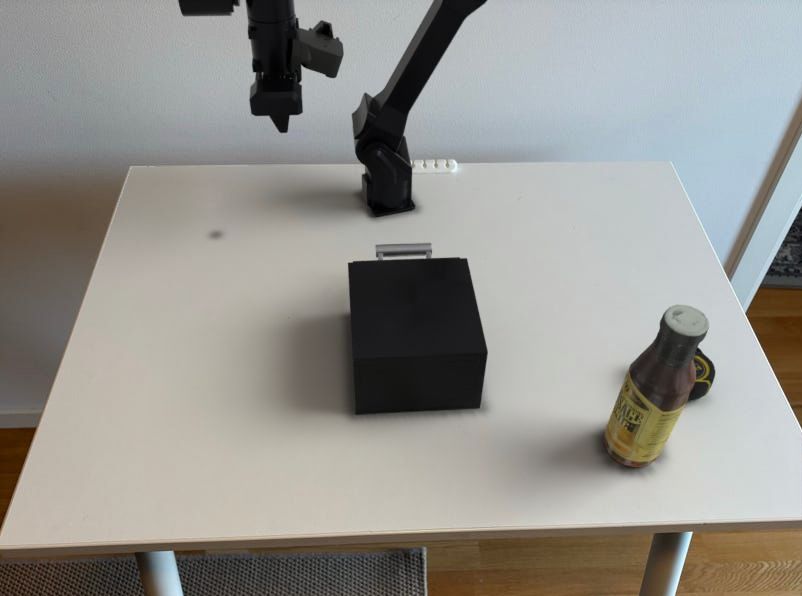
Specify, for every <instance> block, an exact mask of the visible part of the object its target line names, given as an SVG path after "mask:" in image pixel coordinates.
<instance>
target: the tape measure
mask: <svg viewBox="0 0 802 596" xmlns="http://www.w3.org/2000/svg"><path fill="white" fill-rule="evenodd" d="M693 359H694V364H695V368H696V380H695V383H694V386H693V388H692V390H691V391H690V394H689V396H688V400H687V402H692V401H696V400H699V399H701V398H703V397H705V396H706V395H707V394H708V393H709V391H710V389H711V387H712V386H713V383H714V380H715V377H716V367H715V365H714V363H713V361H712V359H710V358H709V357H708V356H707V355H706V354H704V352H703V351H702V349H701V348H700V347H699V346H698V347H697V349H696V351H695V356H694V358H693Z"/></svg>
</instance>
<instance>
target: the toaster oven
mask: <svg viewBox="0 0 802 596" xmlns="http://www.w3.org/2000/svg"><path fill="white" fill-rule="evenodd" d="M347 274H348V294H349V295H348V298H349V314H350V337H351V356H352V376H353V379H352V381H353V397H354V398H353V399H354V415H356V416H358V415H377V414H394V413H395V414H396V413H411V412H412V413H413V412H432V411H450V410H466V409H467V410H468V409H469V410H470V409H480V408H481V405H482V404H481V403H482V397H483V389H484V383H485V376H486V369H487V363H488V355H489V351H488V350H489V349H488V346H487V342H486V337H485V332H484V327H483V324H482V319H481V315H480V309H479V305H478V302H477V297H476V293H475V287H474V283H473V278H472V275H471V269H470V266H469V261H468V258H467V257H460V258H456V259H430V260H403V261H376V262H353V261H351V262H347Z"/></svg>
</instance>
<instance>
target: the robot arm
mask: <svg viewBox="0 0 802 596" xmlns="http://www.w3.org/2000/svg"><path fill="white" fill-rule="evenodd" d="M488 1H489V0H433V1H432V3H431V4H430V6H429V8H428V10H427V12H426V13H425V15H424V17H423V18H422V20H421V22H420V24H419V26H418V28H417V29H416V31H415V32H414V35H413V37H412V38H411V40H410V41H409V43H408V45H407V46H406V49H405V50H404V52H403V54H402V56H401V57H400V59H399V61H398V63H397V65H396V67H395V68H394V70H393V72H392V73H391V76H390V77H389V79H388V80H387V83H386V85H385V86H384V88H383V89H382V90H381V91H380V92H378V93H377V94H375V95H374V96H372V95H370V94H369V93H367V92H364V93H363V95H362V97H361V100H360V103H359V106H358V107H357V108H356V110H354V111H353V112H352V113H351V122H352V127H351V128H352V137H353V147H354V153H355V156H356V158H357V159H356V160H357V161H359V162H360V164H362V165H363V166H364V173H362V174H361V197H362V200H363V202H364V204H365V205H366V207H368V208H369V210H370V212H371V213H372V215H373V216H374V217H382V216H387V215H392V214H397V213H402V212H408V211H413V210H415V209H416V203H415V202H414V200H413V198H412V195H413V165H412V162H411V156H410V152H409V147H408V146H409V145H408V142H407V138H406V136H405V135H404V133H405V131H406V125H407V123H408V122H407V121H408V118H409V114H410V112H411V110H412V108H413V107H414V105H415V103H416V102H417V100H418V99H419V97H420V95H421V93H423V90H424V88H425V87H426V86H427V84H428V82H429V80H430V78H431V77H432V75H433V74H434V73H435V70H436V68H437V67H438V65H439V64H440V62H441V59H443V57H444V56H445V53H446V52H447V50H448V49H449V47H450V46H451V43H453V40H454V39H455V37H456V35H457V33H458V32H459V30H460V28H461V27H462V25H463V24H464V22H465V21H466V19H467V18H468V17H470V16H471V15H472V14H473V13H475V12H476V11H477V10H478V9H480V8H481V7H482V6H484V5H485V4H486V3H487V2H488ZM177 2H178V6H179V10H180V12H181V15H182V17H187V18H188V17H232V15H233V13H235V7H241V0H177ZM245 8H246V16H247V17H246V18H247V22H248V23H247V38H248V40H250V47H251V53H252V54H251V55H252V58H251V69H252V73H255V75H254V77H255V78H254V79H255V80H254V82H253V83H252V84H251V85H250V88H249V100H248V101H249V107H250V114H251V115H252V116H254V117H269V118H270V120H271V121H272V123H273V125H274V126H275V128H276V129H277V131H278V132H279V134H287V133H288V132H289V125H290V116H300V115H302V114H303V112H304V102H303V101H304V99H303V85H302V84H301V83H302V80H303V73H302V67H303V68H304V69H307V70H310V71H313V72H315V73H318V74H322V75H324V76H325V77H326V78H329V79H336V78H337V76H338V74H339V70H340V68H341V65H342V62H343V59H344V55H345V51H344V44H343V42H342V41H341V40H340V37H338V36H335V35H334V30H333V25H332V23H331V22H328V21H325V20H323V19H320V21H318V22H317V24H315V26H313V27H308V29H305V28H302V27H300V20H299V17H297V15H296V10H295V0H245Z"/></svg>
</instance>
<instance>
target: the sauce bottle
mask: <svg viewBox="0 0 802 596" xmlns="http://www.w3.org/2000/svg"><path fill="white" fill-rule="evenodd" d="M709 328H710V322H709V320H708V317H707V316H706V315H705V313H704V312H702V311H701V310H700V309H698V308H695V307H693V306H691V305H687V304H675V305H671V306H670V307H668V308H667V309H666V310H665V311H664V312H663V314H662V316H661V318H660V321H659V329H658V332H657V333H656V336H655V338H654V340H653V341H652V342H651V344H649V345H648V346H647V348H645V350H643V351H642V352H641V353H640V355H639V356H637V358H636V359H635V360H633V362H631V363H630V365H629V367H628V370H627V372H626V375H625V377H624V381H623V382H622V385H621V388H620V390H619V392H618V396H617V398H616V401H615V403H614V406H613V408H612V411H611V414H610V416H609V418H608V421H607V424H606V427H605V434H604V439H603V441H604V447H605V450H606V451H607V452H608V454H609V455H610V456H611V458H613V460H614V461H616V462H617V463H618V464H621V465H622V466H628V467H631V468H643V467H647V466H648V465H651V464H652V463H653V462H655V461H656V460H657V459H658V458H659V457H660V455H661V453H662V452H663V449H664V448H665V446H666V444H667V442H668V440H669V438H670V436H671V434H672V432H673V430H674V428H675V426H676V424H677V422H678V420H679V418H680V416H681V414H682V412H683V410H684V408H685V406H686V404H687V402H688V401H687V400H688V396H689V394H690V391H691V390H692V388H693V386H694V383H695V380H696V368H695V364H694V359H693V358H694V356H695V351H696V349H697V347H698V348H699V345H700V344H701V342H703V341H704V339H705V338H706V336H707V333H708V331H709V330H710V329H709Z"/></svg>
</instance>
